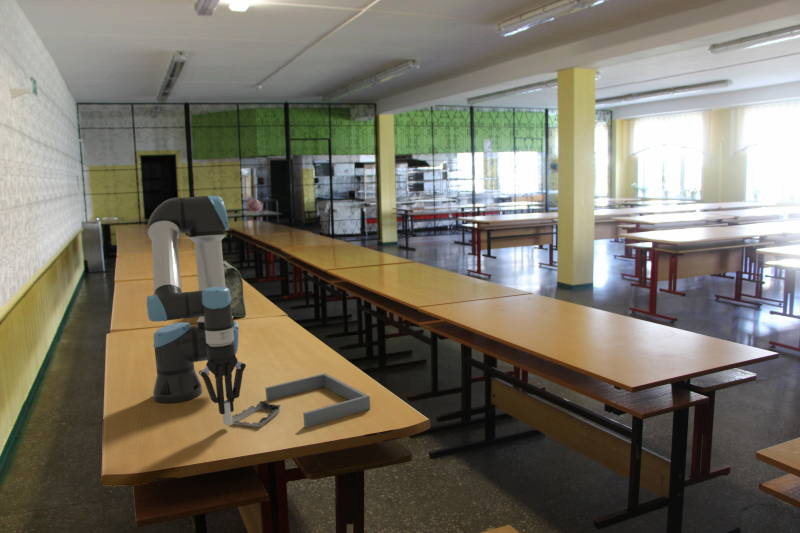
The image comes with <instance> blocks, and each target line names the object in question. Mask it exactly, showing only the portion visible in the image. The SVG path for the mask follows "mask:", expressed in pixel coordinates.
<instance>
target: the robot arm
mask: <svg viewBox="0 0 800 533" xmlns="http://www.w3.org/2000/svg"><path fill="white" fill-rule="evenodd" d="M228 218H229V216H228V213H227V209H226V206H225V201H224V200H223V198H222V197H221V196H218V195H201V196H189V197H187V196H186V197H172V198H168V199H166V200H164V201H163V202H162V203H161V204H159V205H158V206H157V207H156V208H155V209H154V211H153V212H152V213H151V215H150V217H149V219H148V222H147V236H148V237H149V239H150V240H151V253H152V255H151V258H152V274H153V276H152V278H153V293H154V294H153V295H152V294H151V295H148V296H147V297H146V310H147V317H148V320H149V321H151V322H167V321H174V320H175V321H176V320H183V319H194V318H198V319H197V320H196V324H197V325H196V326H192V325H191V324H190V322H187V321H185V322H177V323H172V324H168V325H165V326H162V327H160V328H159V329H156V331H155V332H154V333H153V348H154V357H155V367H156V378H155V382H154V387H153V390H152V395H153V400H154V401H155V402H157V403H161V404H162V403H163V404H164V403H165V404H173V403H182V402H185V401H189V400H192V399H194V398H196V397H198V396H200V395H201V394H202V393H203V387H202V383H201V381H200V378H199V376H198V374H199V375H200V376H201V378H202V379H203V382H204V384H205V387H206V390H207V393H208V396H209V398H210V400H211V401H212V402H213V403H214V404H217V405H218V413H219V414H220V415H222V423H223V424H224V425H225V426H226V427H227V426H231V425H232V423H233V421H232V413H233V412H234V410H235V408H234V402H235V400H236V399H238V398H239V397H240V393H241V387H242V382H243V373H244V371H245V369H246V366H247V365H246V363H245V362H244V361H239V360H238V358H237V356H236V354H238V349H239V335H240V334H239V323H238V322H237V321H236V320H235V321H234V317H233V316H232V309H231V296H230V290H229V289H228V288H227V287H225V276H224V265H223V261H224V256H223V245H222V244H223V243H222V240H223V239H224V238H225V237H226V231H229V230H230V223H229V219H228ZM181 234H188V238H189V240H190V241H191V242H193V244H194V251H195V253H194V254H195V263H196V265H195V266H196V273H197V283H198V284H197V285H198V286H197V287H198V290H195V291H184V292H183V291H182V281H181V280H182V279H181V277H182V276H181V269H180V268H181V267H180V256H179V243H178V239H179V237H180V235H181ZM206 361H207V362H206ZM197 362H198V363H199V362H206V367H205V368H204V369H202V370H199V371H198V373H197V371H196V369H195V363H197ZM234 369H235V374H234V378H233V374H232V373H233V371H234ZM210 372H211V373H212V374H213V375H214V379H215V388H214V386H213V383H212V381H211V380H212V379H211V378H210V377H209V376H210ZM232 378H233V379H234V380H233V379H232ZM223 380H224V381H223ZM233 381H234V382H233ZM223 382H224V383H223ZM224 387H225V388H224ZM224 389H225V394H224ZM215 390H216V392H215ZM225 396H226V397H225ZM225 398H226V399H225Z"/></svg>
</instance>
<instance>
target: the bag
mask: <svg viewBox="0 0 800 533" xmlns="http://www.w3.org/2000/svg"><path fill="white" fill-rule="evenodd" d="M223 265H224V276H225V287H227V288H228V289H229V290H230V296H231V309H232V316H233V318H245V317H246V316H247V312H246V304H245V294H244V283H243V278H242V275H241V273H240V271H239V270H238V269H237V268H236V267H234V266H232V265H231V264H230V263H229V262H227V260H223Z"/></svg>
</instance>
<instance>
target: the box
mask: <svg viewBox="0 0 800 533" xmlns="http://www.w3.org/2000/svg"><path fill="white" fill-rule="evenodd" d="M323 387H325V388H326V387H327V388H326V389H328V388H329V389H328V390H330V391H332V392H334V393H335V394H338V395H339V396H341V397H343V398H344V399H347V400H345V401H342V402H337V403H334V404H330V405H326V406H323V407H320V408H316V409H312V410H309V411H306V412H302V414H303V425H304V428H310V427H313V426H317V425H320V424H323V423H327V422H330V421H335V420H337V419H340V418H344V417H347V416H351V415H355V414H357V413H362V412H364V411H368V410H371V398H370V397H371V396H370V395H368V394H366V393H365V392H362V391H361V390H359V389H357V388H354V387H353V386H350V385H349V384H347V383H346V382H343V381H341V380H340V379H337V378H335V377H333V376H331V375H329V374H328V373H326V372H325V373H320V374H316V375H312V376H308V377H303V378H299V379H296V380H291V381H287V382H284V383H279V384H276V385H271V386H266V387H265V397H266V398H265V400H266V401H272V400H276V399H280V398H283V397H287V396H291V395H297V394H299V393H304V392H307V390H308V391H311V389H312V390H315V388H316V389H318V388H319V389H320V388H323Z"/></svg>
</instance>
